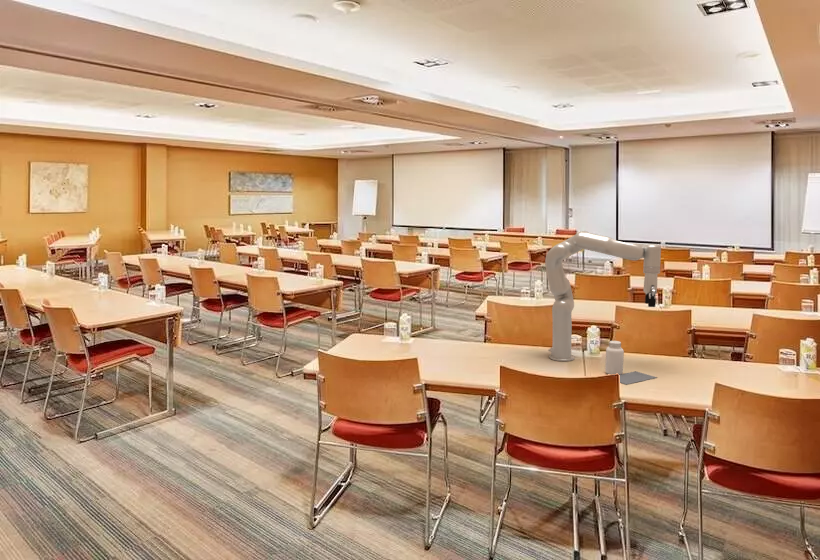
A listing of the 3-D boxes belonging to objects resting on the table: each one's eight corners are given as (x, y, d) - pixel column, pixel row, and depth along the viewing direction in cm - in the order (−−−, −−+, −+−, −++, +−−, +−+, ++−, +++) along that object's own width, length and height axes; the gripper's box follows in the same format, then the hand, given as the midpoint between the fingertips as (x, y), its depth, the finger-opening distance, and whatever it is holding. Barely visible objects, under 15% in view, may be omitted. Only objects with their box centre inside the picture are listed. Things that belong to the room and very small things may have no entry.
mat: (605, 378, 270) (605, 377, 269) (635, 371, 279) (635, 371, 279) (626, 384, 259) (626, 384, 259) (657, 377, 269) (657, 377, 269)
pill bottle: (621, 376, 272) (621, 344, 270) (603, 373, 277) (604, 342, 275) (624, 372, 279) (625, 341, 277) (607, 369, 283) (608, 339, 281)
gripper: (640, 268, 293) (639, 302, 295) (645, 272, 276) (644, 307, 278) (657, 268, 291) (655, 302, 293) (663, 272, 274) (661, 308, 276)
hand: (650, 305), depth 286 cm, fingers open, 9 cm apart
